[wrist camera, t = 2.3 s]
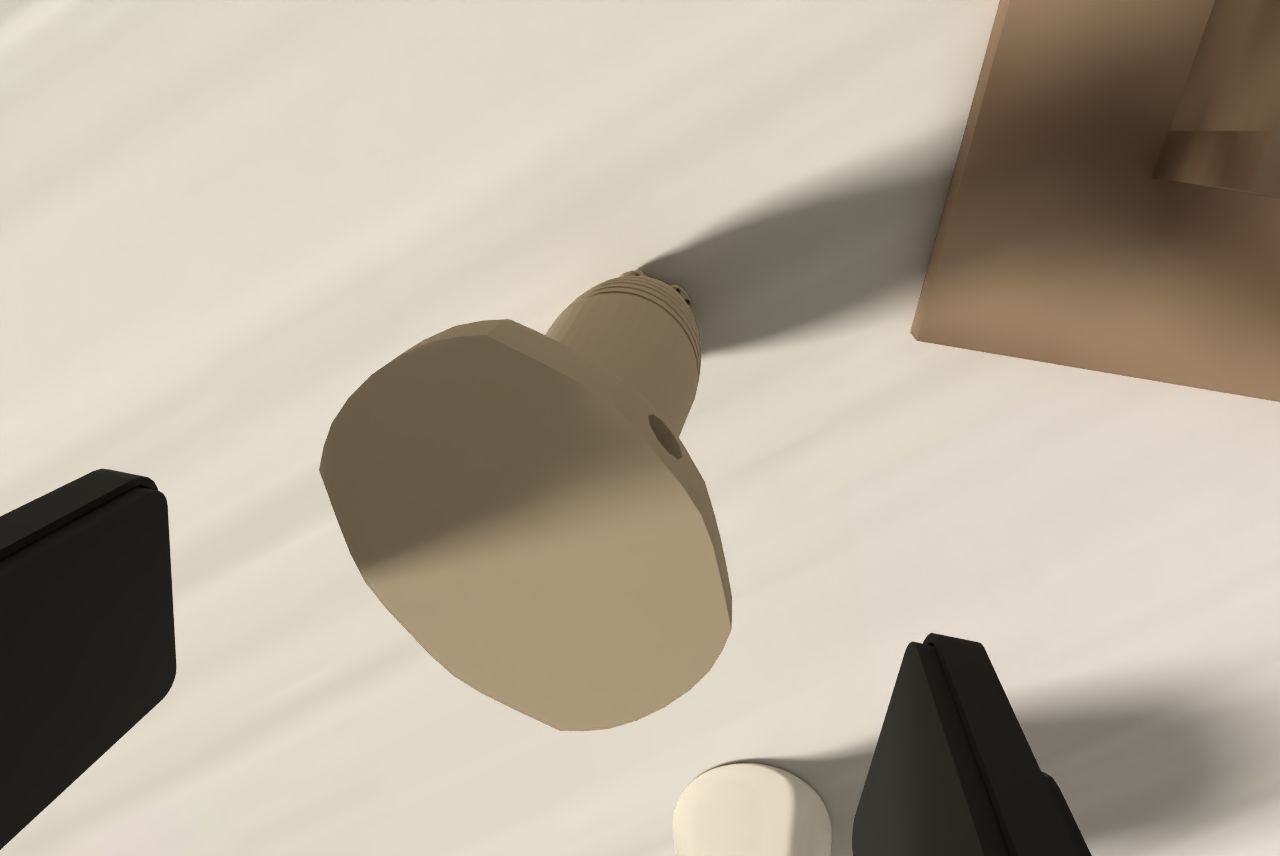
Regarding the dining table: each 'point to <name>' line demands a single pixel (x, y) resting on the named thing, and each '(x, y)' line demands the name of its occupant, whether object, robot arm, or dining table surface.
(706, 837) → the beer glass
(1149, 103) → the holder
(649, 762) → the dining table surface
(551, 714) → the handle
